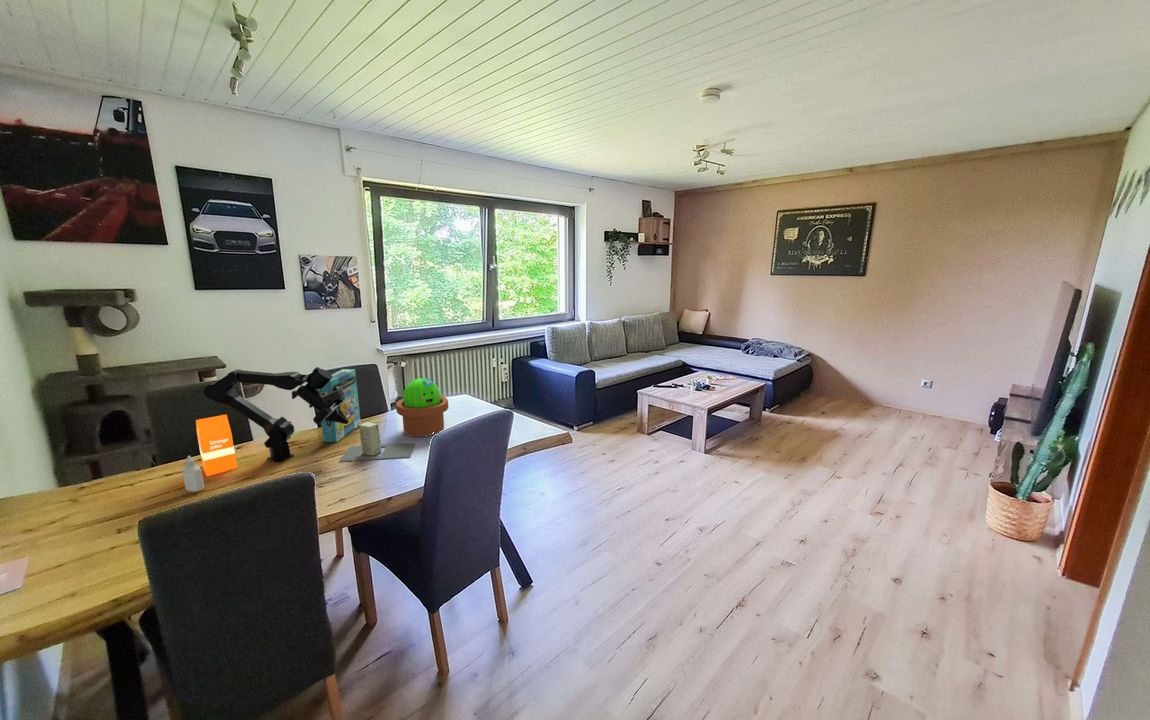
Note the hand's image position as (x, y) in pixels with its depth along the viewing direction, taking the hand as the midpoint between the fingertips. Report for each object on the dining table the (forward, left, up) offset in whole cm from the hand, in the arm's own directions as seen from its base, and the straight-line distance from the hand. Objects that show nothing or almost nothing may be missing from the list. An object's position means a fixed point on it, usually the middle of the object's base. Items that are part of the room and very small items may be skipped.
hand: (347, 423), depth 170 cm
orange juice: (-34, -26, -13) cm, 45 cm away
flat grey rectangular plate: (+9, +5, -13) cm, 17 cm away
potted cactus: (+11, +32, -13) cm, 36 cm away
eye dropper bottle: (-26, -39, -13) cm, 49 cm away
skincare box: (+7, +4, -13) cm, 15 cm away
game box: (-20, +16, -13) cm, 29 cm away
